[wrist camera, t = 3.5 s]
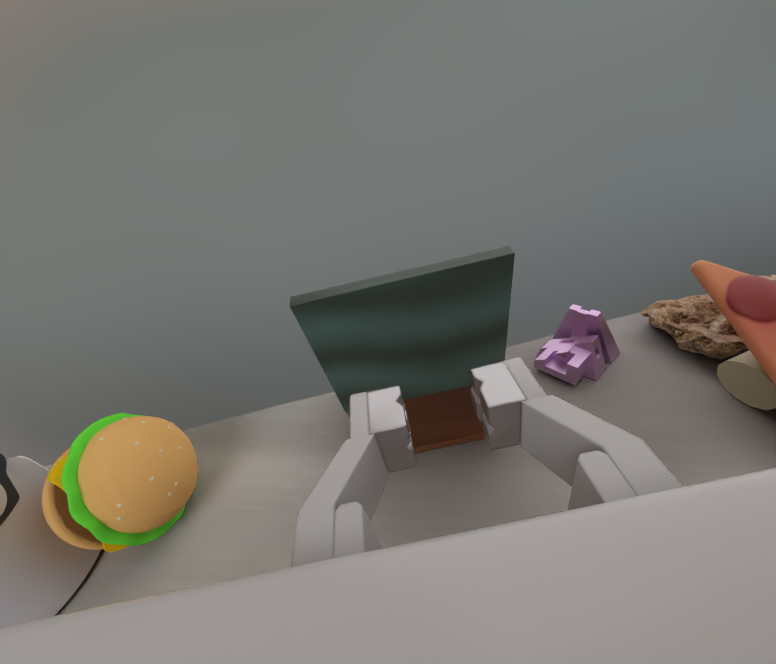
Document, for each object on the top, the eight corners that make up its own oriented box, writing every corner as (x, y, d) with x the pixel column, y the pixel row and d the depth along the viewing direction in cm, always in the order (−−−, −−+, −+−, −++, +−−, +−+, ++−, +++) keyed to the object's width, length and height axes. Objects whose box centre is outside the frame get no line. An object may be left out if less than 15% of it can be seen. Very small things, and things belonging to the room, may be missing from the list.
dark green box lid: (290, 296, 21) (289, 305, 20) (509, 244, 20) (515, 252, 20) (345, 404, 30) (345, 413, 29) (499, 370, 29) (503, 378, 29)
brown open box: (363, 383, 44) (347, 335, 39) (468, 360, 43) (463, 308, 39) (368, 463, 34) (347, 412, 30) (502, 434, 34) (501, 378, 29)
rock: (709, 260, 44) (829, 266, 36) (705, 296, 46) (818, 311, 38) (628, 307, 39) (746, 327, 30) (628, 346, 41) (737, 376, 32)
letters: (585, 393, 35) (594, 349, 32) (525, 366, 40) (527, 326, 37) (620, 352, 39) (630, 309, 36) (561, 332, 44) (565, 292, 40)
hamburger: (-20, 482, 25) (71, 432, 24) (112, 413, 37) (177, 378, 36) (80, 603, 27) (168, 560, 26) (176, 500, 39) (239, 469, 38)
